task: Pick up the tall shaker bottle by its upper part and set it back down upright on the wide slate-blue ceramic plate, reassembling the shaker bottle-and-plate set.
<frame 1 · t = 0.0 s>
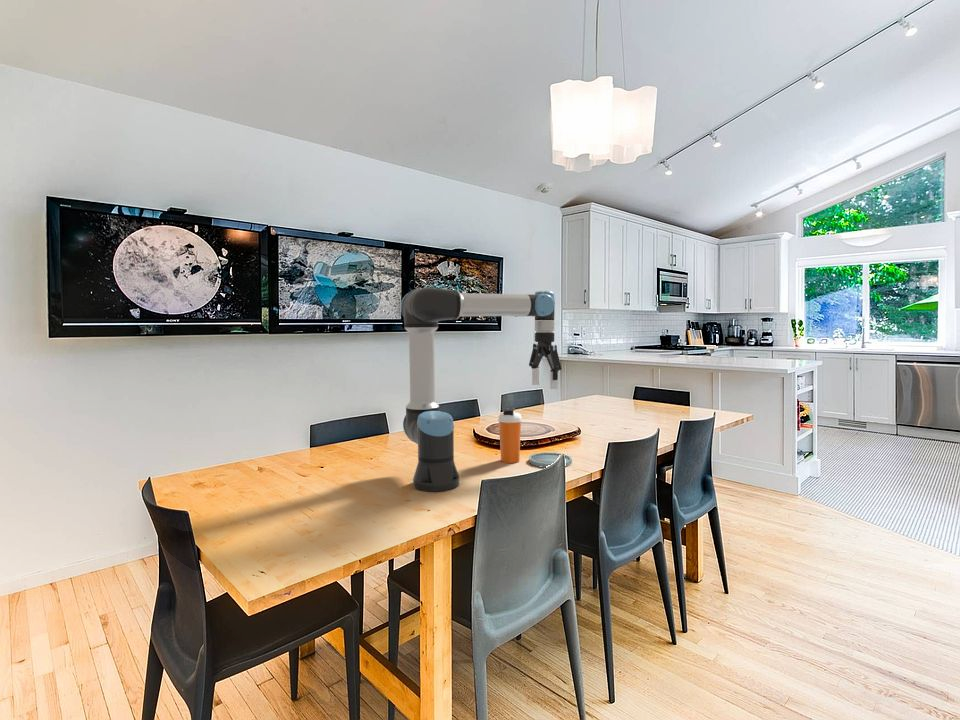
hand: (544, 386, 198), 28 cm above the table, fingers open, 13 cm apart
saucer: (550, 462, 194), on the table
shaker bottle: (510, 461, 196), on the table
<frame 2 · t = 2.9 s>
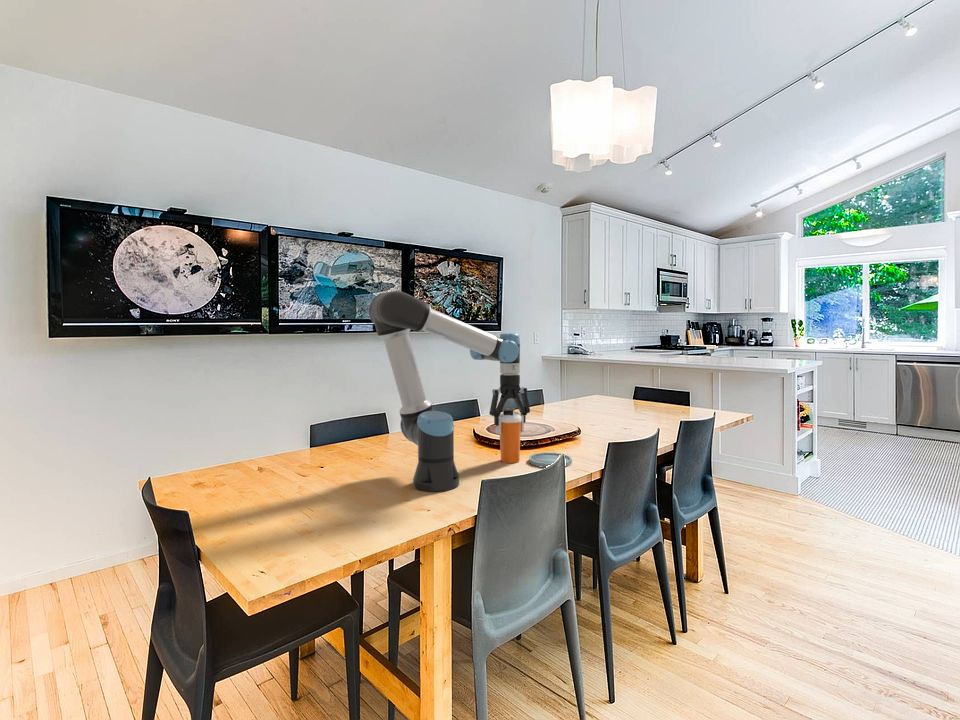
hand: (510, 432, 195), 11 cm above the table, fingers closed on shaker bottle, 9 cm apart
shaker bottle: (510, 461, 196), on the table, touching gripper
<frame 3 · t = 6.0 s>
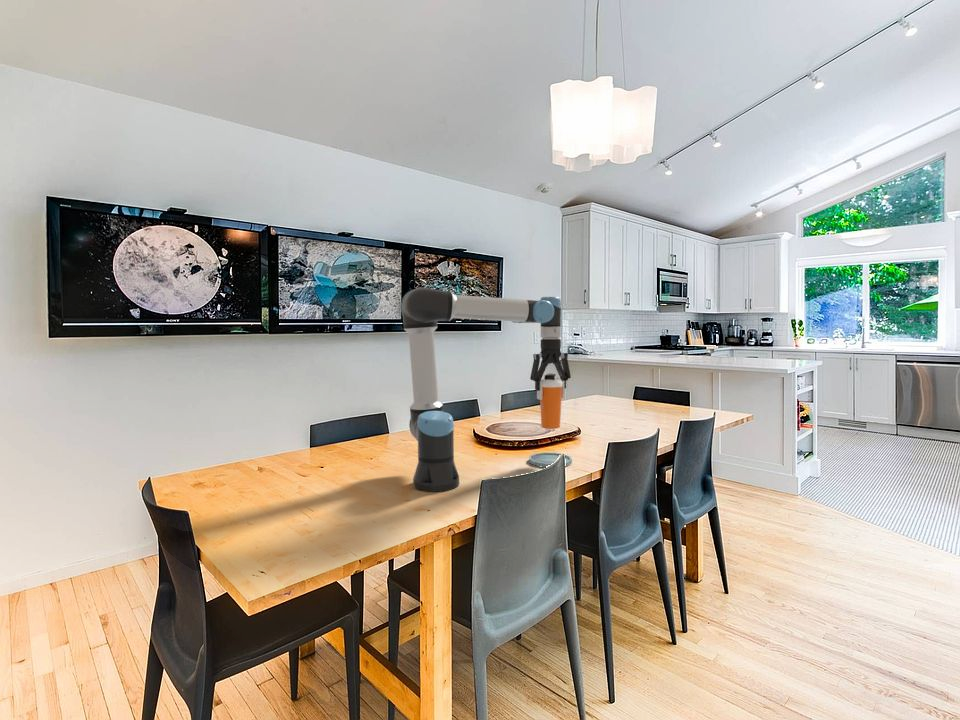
hand: (550, 398, 192), 24 cm above the table, fingers closed on shaker bottle, 9 cm apart
shaker bottle: (550, 427, 193), point 13 cm above the table, touching gripper
when the fingers open (12 cm above the table, at t = 9.1 s): shaker bottle stays where it is, resting on saucer.
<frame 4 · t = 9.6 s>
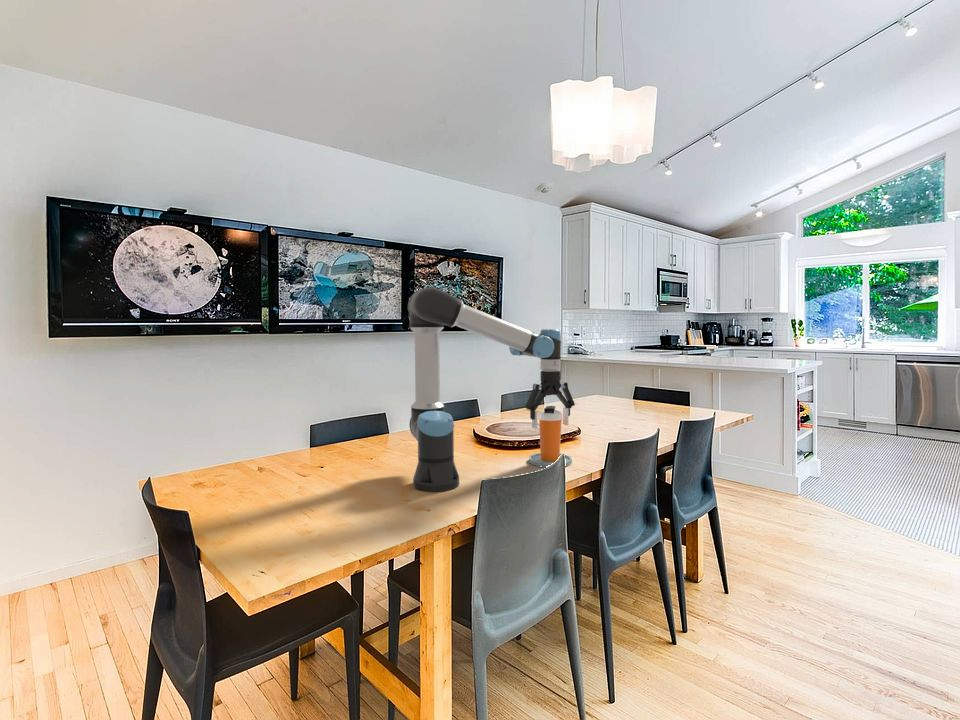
hand: (550, 426, 193), 14 cm above the table, fingers open, 13 cm apart
shaker bottle: (550, 459, 194), point 1 cm above the table, touching saucer
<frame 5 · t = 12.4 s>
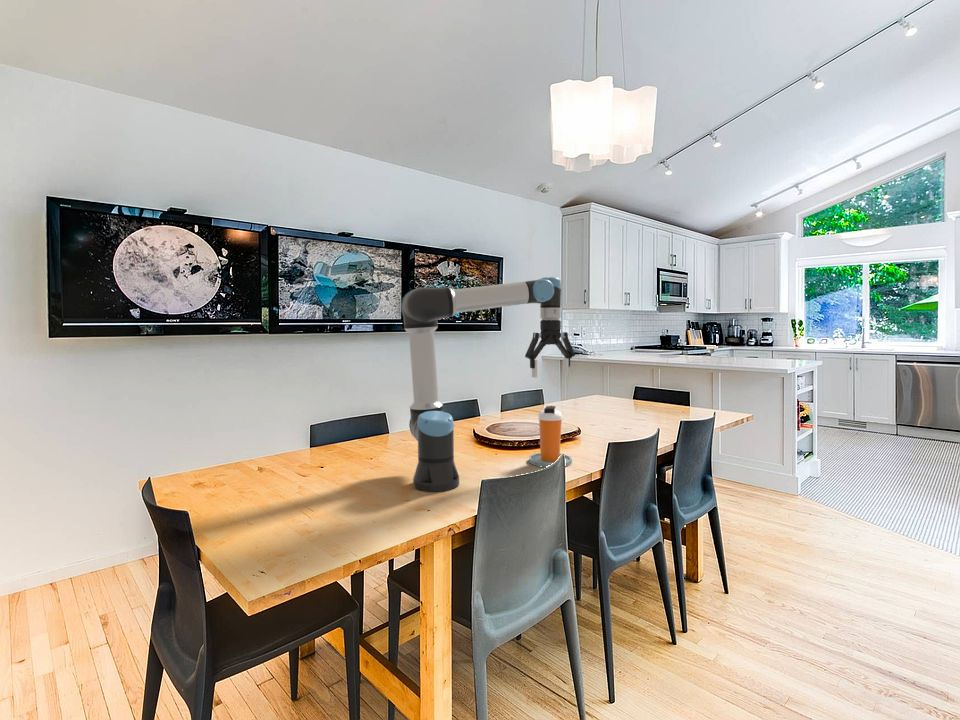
hand: (550, 376, 191), 33 cm above the table, fingers open, 13 cm apart
nothing on the table moved.
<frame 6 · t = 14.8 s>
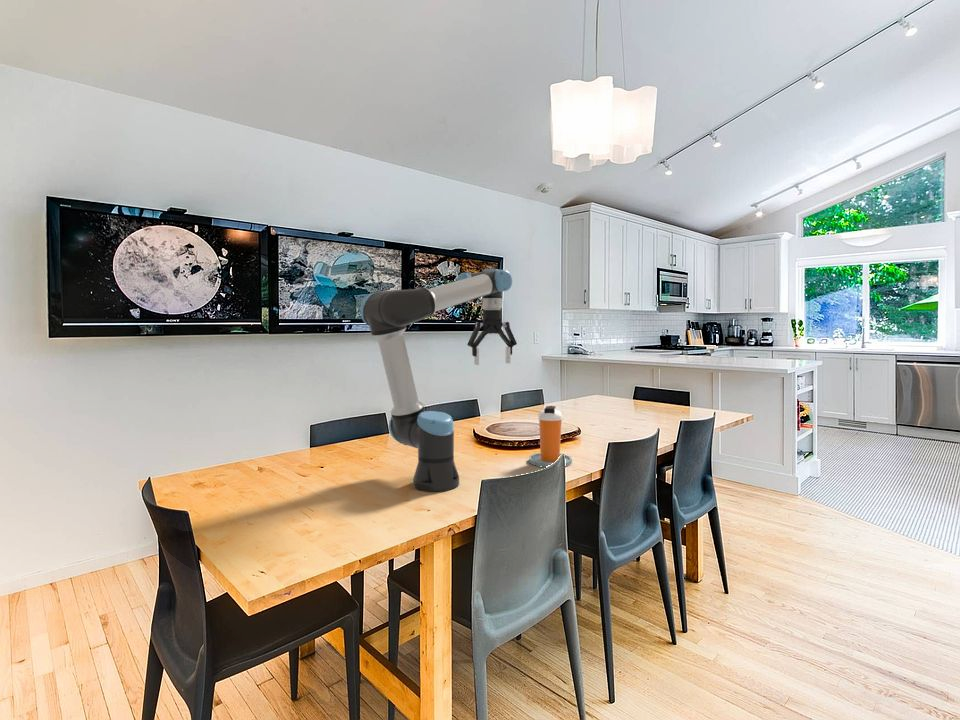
hand: (492, 364, 200), 37 cm above the table, fingers open, 13 cm apart
nothing on the table moved.
at the end: shaker bottle 0.0 cm from the saucer (horizontally); shaker bottle tilted 0°; shaker bottle point 0.8 cm above the table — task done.
